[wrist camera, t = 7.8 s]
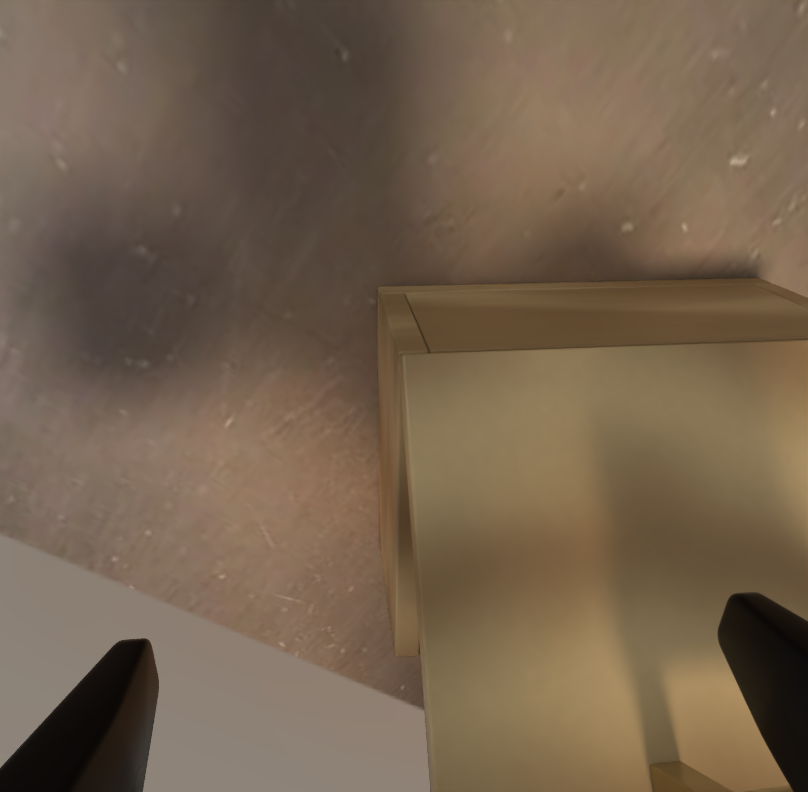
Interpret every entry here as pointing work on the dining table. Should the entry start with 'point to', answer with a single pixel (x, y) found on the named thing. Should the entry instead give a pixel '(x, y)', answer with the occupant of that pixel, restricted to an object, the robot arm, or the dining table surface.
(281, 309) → the dining table surface
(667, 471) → the box door
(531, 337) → the storage box
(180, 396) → the dining table surface
